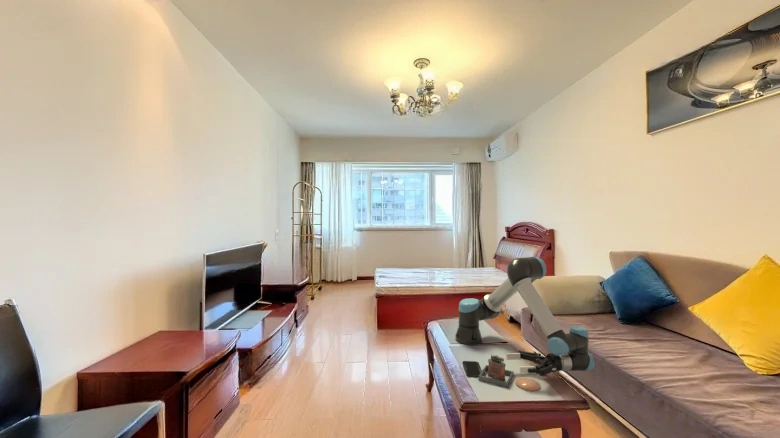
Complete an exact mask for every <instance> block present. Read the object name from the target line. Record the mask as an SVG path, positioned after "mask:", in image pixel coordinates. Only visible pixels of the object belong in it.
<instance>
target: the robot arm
mask: <svg viewBox="0 0 780 438" xmlns="http://www.w3.org/2000/svg"><path fill="white" fill-rule="evenodd" d="M506 274H507V278H506V279H505V280H504V281H503V282H502V283H501V284H500V285H499V286H498V287H497V288H496V289H495V290H493V292H492V293H488V294H485V295H484V296H483V298H481V299H477V298H471V297H470V298H463V299H462V300H460V301H459V304H458V326H457V327H458V328H457V330H456V333H455V335H454V336H455V341H456V342H458V343H460V344H463V345H468V346H472V345H473V346H475V345H479V344H481V343H482V342H483V336H482V334H481V330H480V321H486V320H491V319H492V320H493V319H495V318H497V317H499V316H500V314H501V312H502V311H501V310H502V308H503V305H504V304H505V303H507V301H508V300H509V299H511V298H513V296H514V295H515V294H517V293H518V294H519V295H520V297H521V298H522V300H523V301H524V303H525V304H526V306H527V308H528V309H529V311H530V312H531V314H532V315H533V317H534V318H535V320H536V322H537V323H538V325H539V327H540V328H541V330H542V332H543V333H544V334H545V336H546V338H547V342H546V343H547V344H546V345H547V349H548V351H549V353H547V354H546V356H544V355H542V354H541V353H539V352H530V351H523V350H518V352H515V353H513V352H511V353H508V352H506V357H505V359H506V360H512V361H513V360H519V361H520V360H525V361H530V362H532V363H534V364H537V365H535V366H534V365H529V366H528V365H527V366H526V365H524V366H523V365H522V366H521V365H520V366H519V373H520V374H536V375H539V376H540V377H544V376H546V375H548V374H551V373H556V372H567V371H568V372H569V371H570V372H571V371H572V372H573V371H575V372H576V371H578V372H579V371H581V372H584V371H591V370H593V369H594V368H595V364H596V363H595V361H594V356H593V355H592V354H591V353H589V339H590V338H589V330H588V329H587V328H586V327H584V326H579V325H572V326H570V328H569V333H565V331H564V330H563V328H562V327H561V325H560V324H559V323H558V321H557V319H556V318H555V316H554V315H553V313H552V311H551V310H550V309H549V307H548V305H547V304H546V302H545V301H544V299H543V298H542V296H541V295H540V294H539V291H538V290H537V289H536V288H535V285H534V284H533V283H534V282H535V281H536V280H541V279H542V278H544V277H545V276H546V274H547V266H546V263H545V261H544V260H543V259H542V258H540V257H539V256H528V257H516V258H513V259H512V260H511V261H510V262H508V265H507V268H506Z"/></svg>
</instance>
